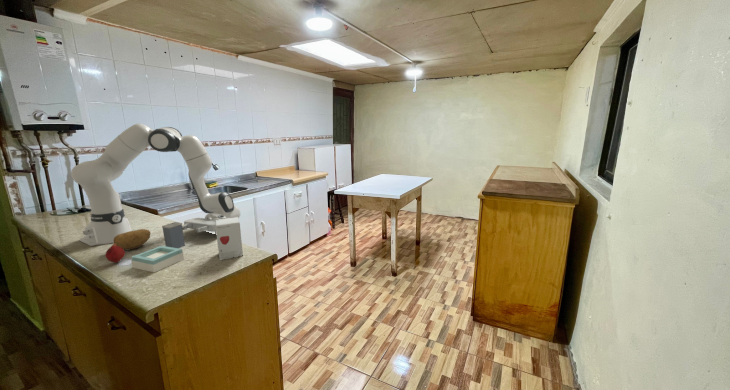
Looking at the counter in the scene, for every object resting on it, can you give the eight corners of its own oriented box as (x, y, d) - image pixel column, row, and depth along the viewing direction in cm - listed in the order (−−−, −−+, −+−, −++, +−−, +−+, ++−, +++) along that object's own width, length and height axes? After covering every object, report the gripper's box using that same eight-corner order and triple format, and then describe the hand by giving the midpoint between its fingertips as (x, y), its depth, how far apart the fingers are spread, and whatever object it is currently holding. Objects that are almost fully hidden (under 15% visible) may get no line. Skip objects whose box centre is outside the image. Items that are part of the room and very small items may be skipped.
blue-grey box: (165, 249, 129) (161, 226, 127) (178, 244, 135) (175, 222, 132) (172, 250, 128) (168, 227, 125) (185, 245, 133) (181, 222, 131)
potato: (157, 244, 136) (154, 227, 134) (122, 255, 123) (119, 237, 122) (145, 240, 140) (142, 225, 138) (110, 251, 127) (106, 234, 126)
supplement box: (219, 260, 117) (215, 225, 114) (219, 252, 125) (214, 219, 122) (243, 256, 121) (239, 222, 118) (241, 248, 129) (238, 216, 126)
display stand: (132, 267, 112) (130, 256, 111) (163, 255, 123) (161, 245, 122) (154, 272, 108) (152, 261, 107) (183, 259, 119) (182, 249, 118)
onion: (115, 266, 113) (111, 247, 111) (103, 265, 114) (99, 246, 112) (130, 260, 119) (126, 241, 117) (118, 259, 120) (114, 240, 118)
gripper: (197, 213, 153) (173, 221, 140) (228, 217, 146) (205, 225, 133) (199, 225, 154) (174, 233, 141) (229, 229, 147) (206, 238, 135)
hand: (189, 229), depth 137 cm, fingers open, 8 cm apart
